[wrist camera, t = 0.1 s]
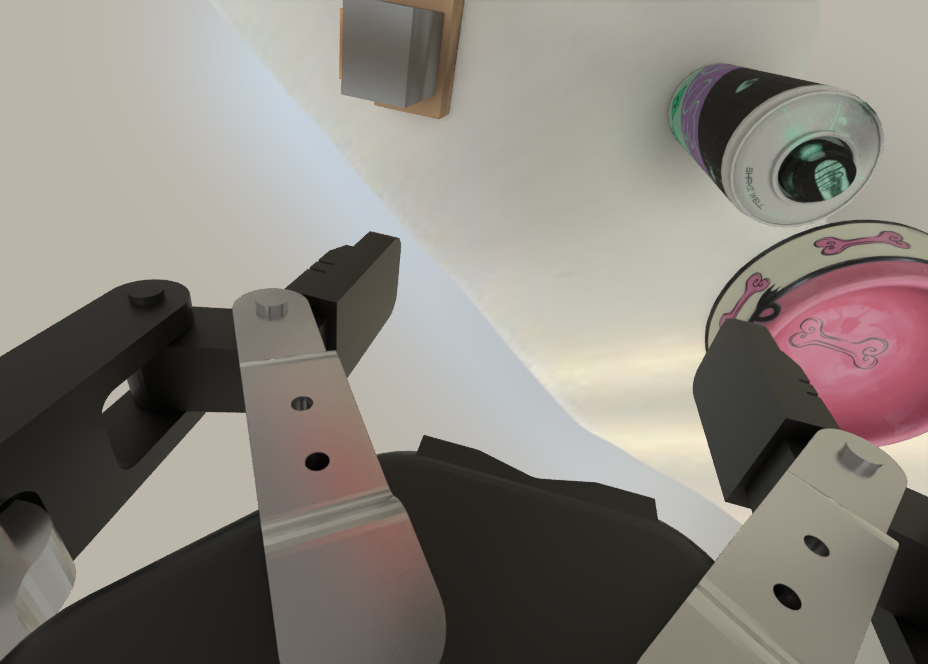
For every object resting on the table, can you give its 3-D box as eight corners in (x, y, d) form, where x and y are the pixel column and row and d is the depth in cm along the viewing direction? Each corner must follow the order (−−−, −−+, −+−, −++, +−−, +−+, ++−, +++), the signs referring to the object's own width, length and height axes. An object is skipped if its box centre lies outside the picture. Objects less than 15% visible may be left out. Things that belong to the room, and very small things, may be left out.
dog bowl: (792, 184, 35) (832, 213, 30) (1036, 270, 35) (1123, 316, 29) (666, 369, 46) (677, 417, 40) (852, 437, 45) (891, 495, 40)
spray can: (698, 49, 32) (819, 65, 16) (771, 83, 32) (968, 136, 16) (652, 129, 35) (711, 215, 19) (719, 160, 35) (836, 273, 19)
